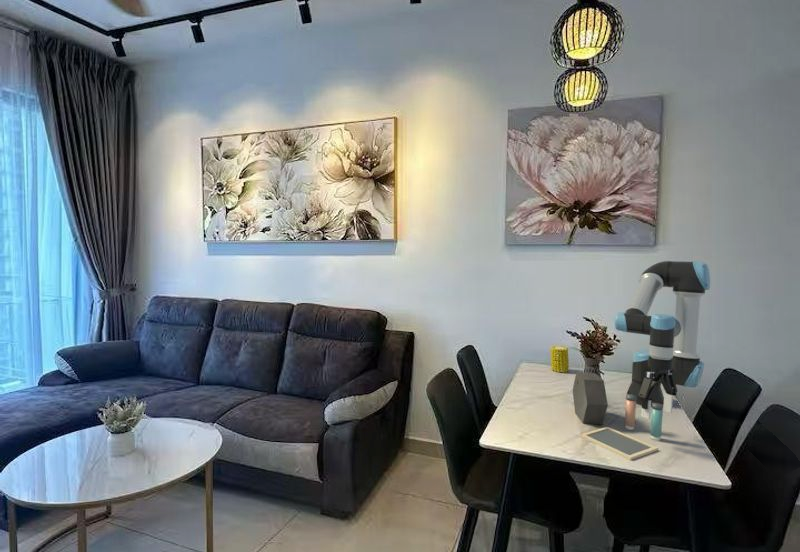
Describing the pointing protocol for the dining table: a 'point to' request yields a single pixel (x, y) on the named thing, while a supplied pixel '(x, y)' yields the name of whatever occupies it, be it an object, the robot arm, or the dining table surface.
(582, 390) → the planter
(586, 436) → the slate board
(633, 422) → the coral marker
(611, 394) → the dining table surface
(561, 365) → the food
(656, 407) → the teal marker
